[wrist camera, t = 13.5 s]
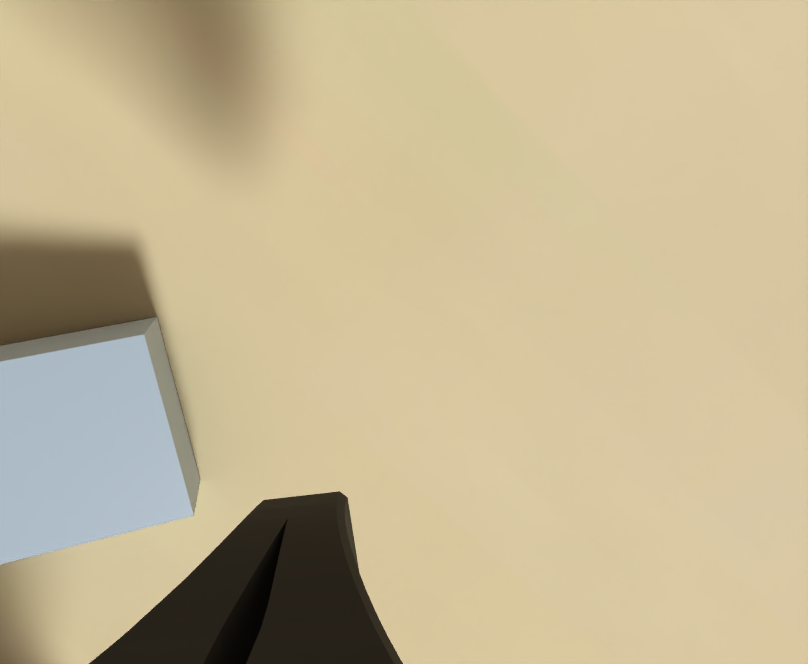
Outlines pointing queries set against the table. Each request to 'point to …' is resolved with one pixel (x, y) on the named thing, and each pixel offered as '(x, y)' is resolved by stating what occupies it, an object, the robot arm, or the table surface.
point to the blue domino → (90, 439)
